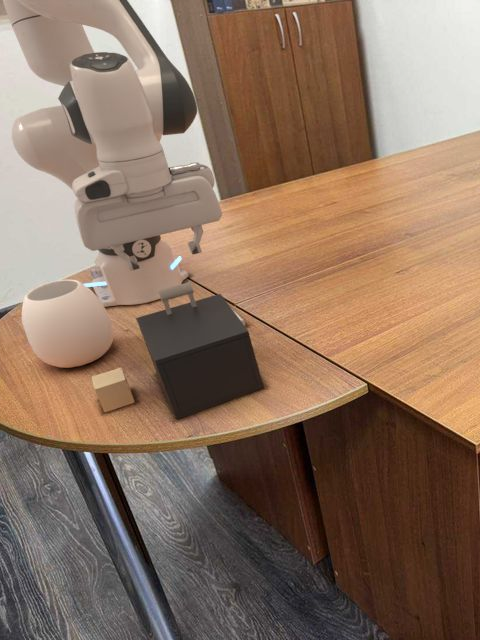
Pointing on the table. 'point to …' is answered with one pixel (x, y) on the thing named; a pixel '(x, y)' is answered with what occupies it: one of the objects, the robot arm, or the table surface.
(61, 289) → the cream round vase
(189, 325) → the lid
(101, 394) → the block
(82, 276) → the table surface
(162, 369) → the dark grey box
